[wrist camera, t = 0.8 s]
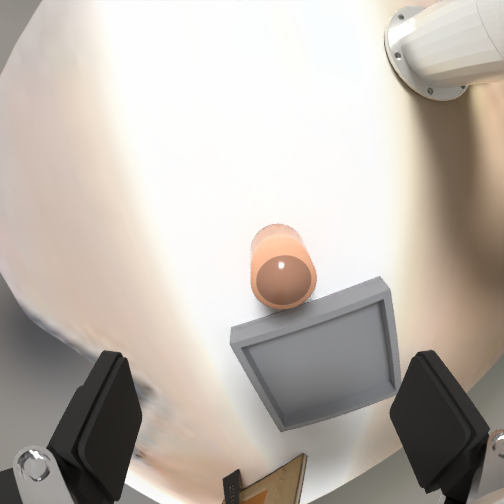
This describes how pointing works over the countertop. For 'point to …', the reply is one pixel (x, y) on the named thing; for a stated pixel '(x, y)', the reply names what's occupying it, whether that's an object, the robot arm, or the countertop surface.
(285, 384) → the grey square tray
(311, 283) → the terracotta cup
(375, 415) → the countertop surface
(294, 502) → the picture frame
